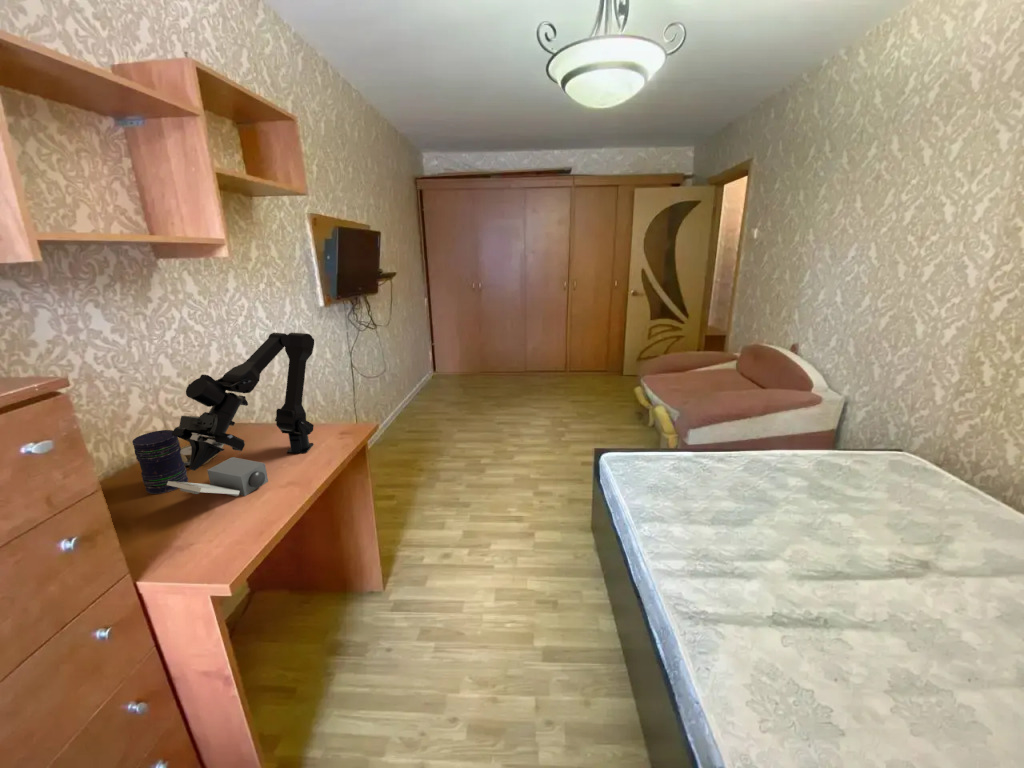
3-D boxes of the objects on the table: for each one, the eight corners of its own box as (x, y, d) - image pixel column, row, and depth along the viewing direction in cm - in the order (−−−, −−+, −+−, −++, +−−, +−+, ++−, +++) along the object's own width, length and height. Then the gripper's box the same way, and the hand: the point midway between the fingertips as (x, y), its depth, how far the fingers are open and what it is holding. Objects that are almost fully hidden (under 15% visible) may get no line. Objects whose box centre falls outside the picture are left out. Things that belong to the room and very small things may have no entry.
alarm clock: (220, 439, 147) (207, 451, 133) (223, 453, 147) (209, 467, 133) (181, 444, 143) (162, 457, 129) (183, 458, 144) (165, 473, 130)
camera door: (210, 484, 122) (168, 481, 110) (241, 490, 119) (201, 488, 107) (208, 490, 121) (165, 488, 110) (239, 497, 118) (198, 495, 107)
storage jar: (177, 492, 121) (164, 443, 116) (137, 495, 119) (122, 446, 115) (195, 474, 130) (184, 428, 126) (158, 477, 128) (145, 431, 124)
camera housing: (236, 475, 130) (232, 457, 128) (271, 482, 126) (268, 463, 125) (211, 488, 123) (207, 470, 121) (248, 496, 119) (244, 477, 117)
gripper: (169, 397, 112) (135, 454, 106) (225, 405, 107) (193, 466, 101) (204, 414, 122) (175, 467, 116) (257, 422, 117) (230, 478, 111)
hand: (192, 469), depth 110 cm, fingers closed
